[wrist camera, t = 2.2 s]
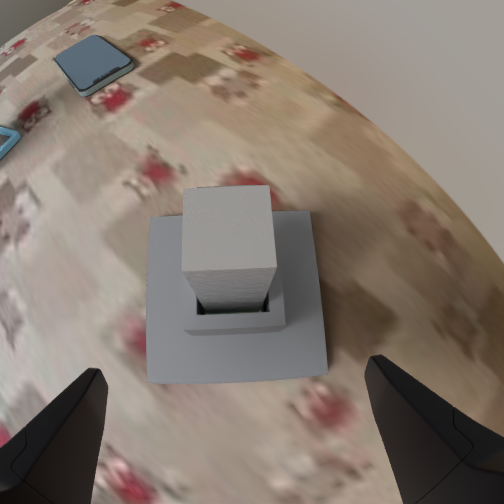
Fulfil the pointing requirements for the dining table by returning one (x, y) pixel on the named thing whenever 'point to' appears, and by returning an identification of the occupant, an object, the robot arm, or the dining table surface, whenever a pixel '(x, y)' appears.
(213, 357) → the base
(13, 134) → the light blue holder stand
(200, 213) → the column
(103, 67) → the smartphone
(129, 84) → the dining table surface
